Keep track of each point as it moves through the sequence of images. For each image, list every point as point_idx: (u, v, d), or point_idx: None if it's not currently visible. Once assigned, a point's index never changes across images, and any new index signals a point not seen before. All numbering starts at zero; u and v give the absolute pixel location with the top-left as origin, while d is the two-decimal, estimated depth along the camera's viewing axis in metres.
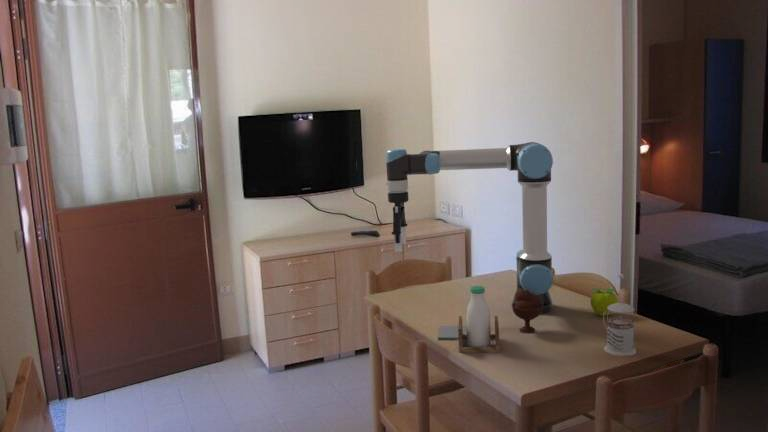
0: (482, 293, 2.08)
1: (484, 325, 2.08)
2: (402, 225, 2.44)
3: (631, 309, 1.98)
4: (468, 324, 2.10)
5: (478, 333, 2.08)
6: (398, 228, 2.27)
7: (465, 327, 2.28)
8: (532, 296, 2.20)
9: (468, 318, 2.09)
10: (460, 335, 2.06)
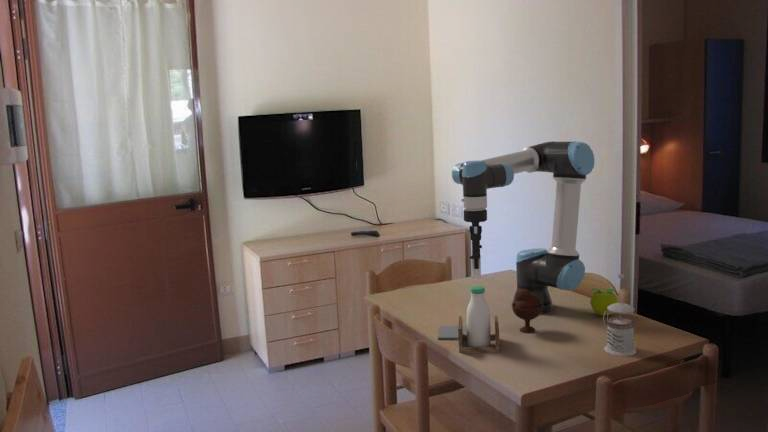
0: (482, 293, 2.08)
1: (484, 325, 2.08)
2: None
3: (631, 309, 1.98)
4: (468, 324, 2.10)
5: (478, 333, 2.08)
6: (478, 252, 1.97)
7: (465, 327, 2.28)
8: (532, 296, 2.20)
9: (468, 318, 2.09)
10: (460, 335, 2.06)
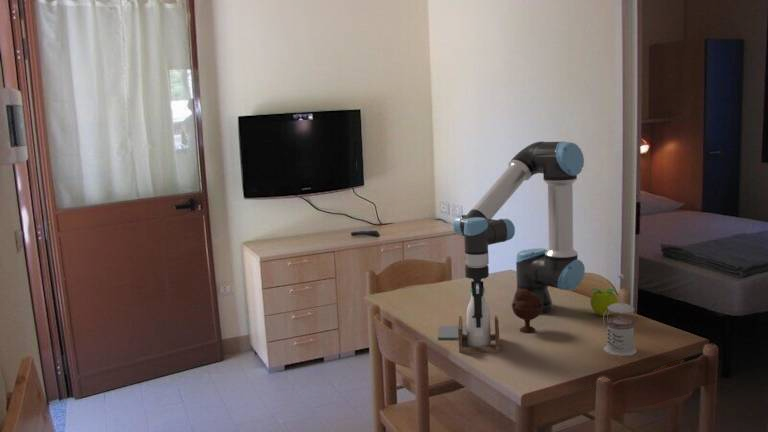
0: None
1: (484, 325, 2.08)
2: None
3: (631, 309, 1.98)
4: (468, 324, 2.10)
5: None
6: (480, 312, 2.03)
7: (465, 327, 2.28)
8: (532, 296, 2.20)
9: (468, 318, 2.09)
10: (460, 335, 2.06)
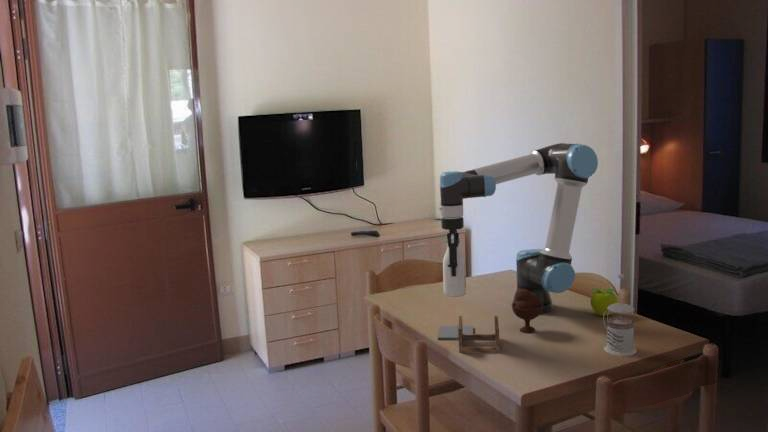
0: None
1: (459, 274, 2.17)
2: None
3: (631, 309, 1.98)
4: (444, 274, 2.19)
5: None
6: (455, 261, 2.12)
7: (465, 327, 2.28)
8: (532, 296, 2.20)
9: (444, 268, 2.19)
10: (460, 335, 2.06)
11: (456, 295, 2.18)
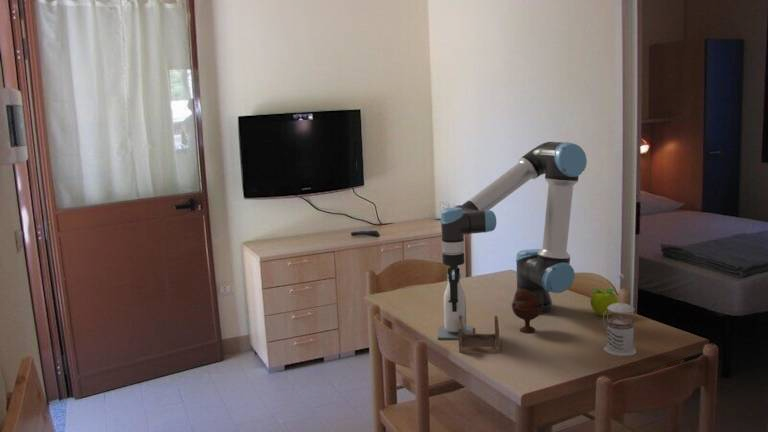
0: None
1: (460, 309, 2.19)
2: None
3: (631, 309, 1.98)
4: (445, 308, 2.21)
5: None
6: (456, 297, 2.15)
7: None
8: (532, 296, 2.20)
9: (445, 303, 2.21)
10: (460, 335, 2.06)
11: (457, 330, 2.20)
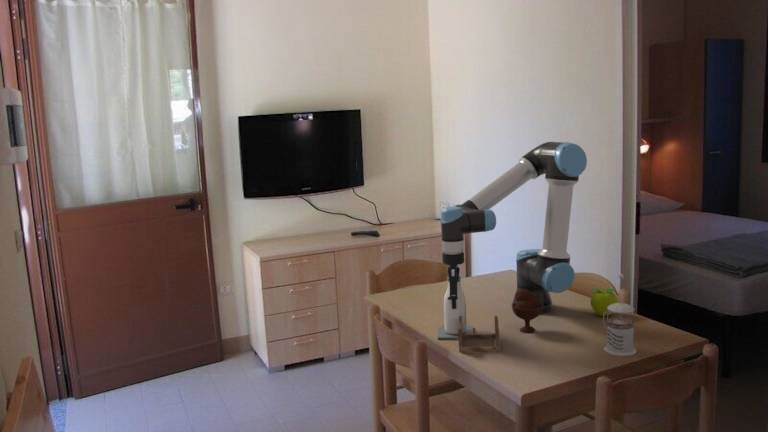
0: (458, 282, 2.20)
1: (460, 312, 2.19)
2: None
3: (631, 309, 1.98)
4: (445, 311, 2.21)
5: (454, 319, 2.20)
6: (455, 293, 2.12)
7: None
8: (532, 296, 2.20)
9: (445, 305, 2.21)
10: (460, 335, 2.06)
11: (457, 332, 2.20)
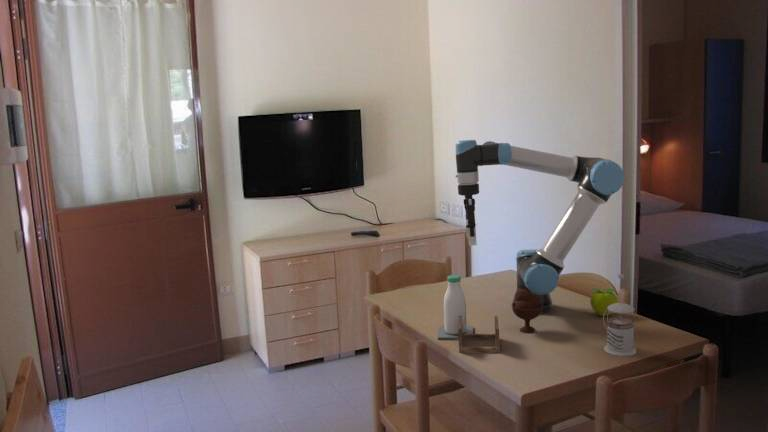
0: (458, 282, 2.20)
1: (460, 312, 2.19)
2: None
3: (631, 309, 1.98)
4: (445, 311, 2.22)
5: (454, 319, 2.20)
6: (473, 221, 2.21)
7: None
8: (532, 296, 2.20)
9: (445, 305, 2.21)
10: (460, 335, 2.06)
11: (457, 332, 2.20)
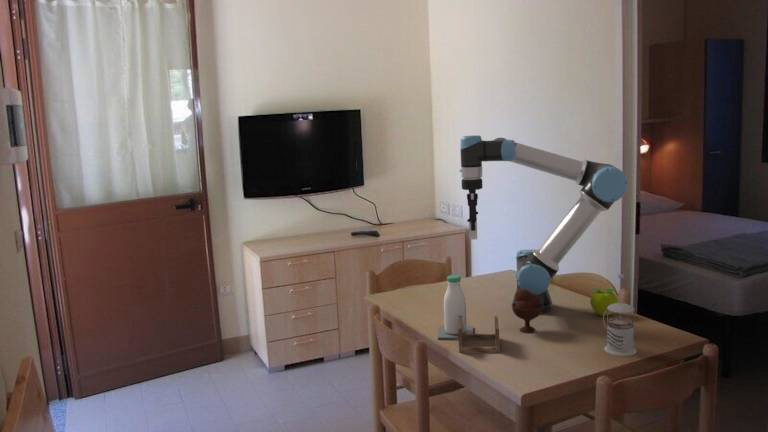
0: (458, 282, 2.19)
1: (460, 312, 2.19)
2: None
3: (631, 309, 1.98)
4: (445, 311, 2.21)
5: (454, 319, 2.20)
6: (474, 215, 2.24)
7: None
8: (532, 296, 2.20)
9: (445, 305, 2.21)
10: (460, 335, 2.06)
11: (457, 332, 2.20)
